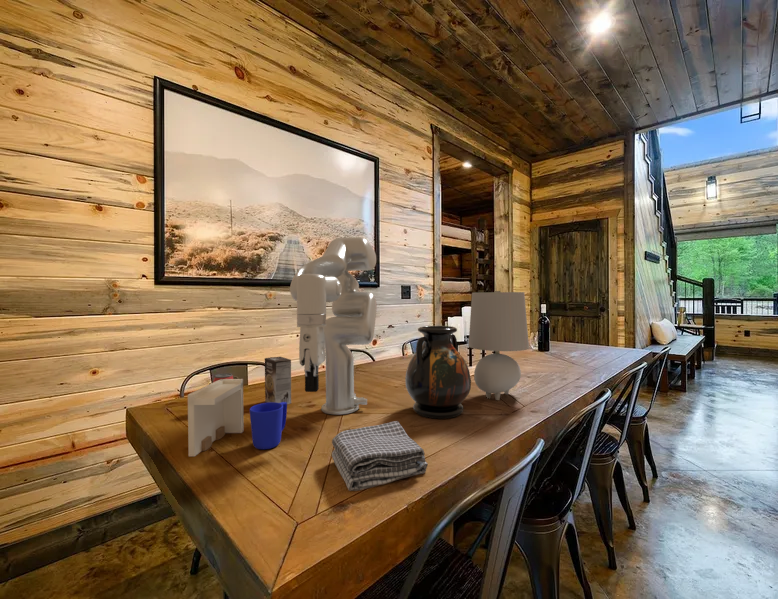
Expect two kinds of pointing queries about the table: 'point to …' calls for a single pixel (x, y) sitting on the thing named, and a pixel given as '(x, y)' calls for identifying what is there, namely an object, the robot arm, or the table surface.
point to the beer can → (223, 376)
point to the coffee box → (278, 380)
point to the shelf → (214, 413)
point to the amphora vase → (438, 374)
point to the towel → (376, 455)
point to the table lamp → (498, 338)
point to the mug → (267, 424)
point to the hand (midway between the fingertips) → (311, 390)
